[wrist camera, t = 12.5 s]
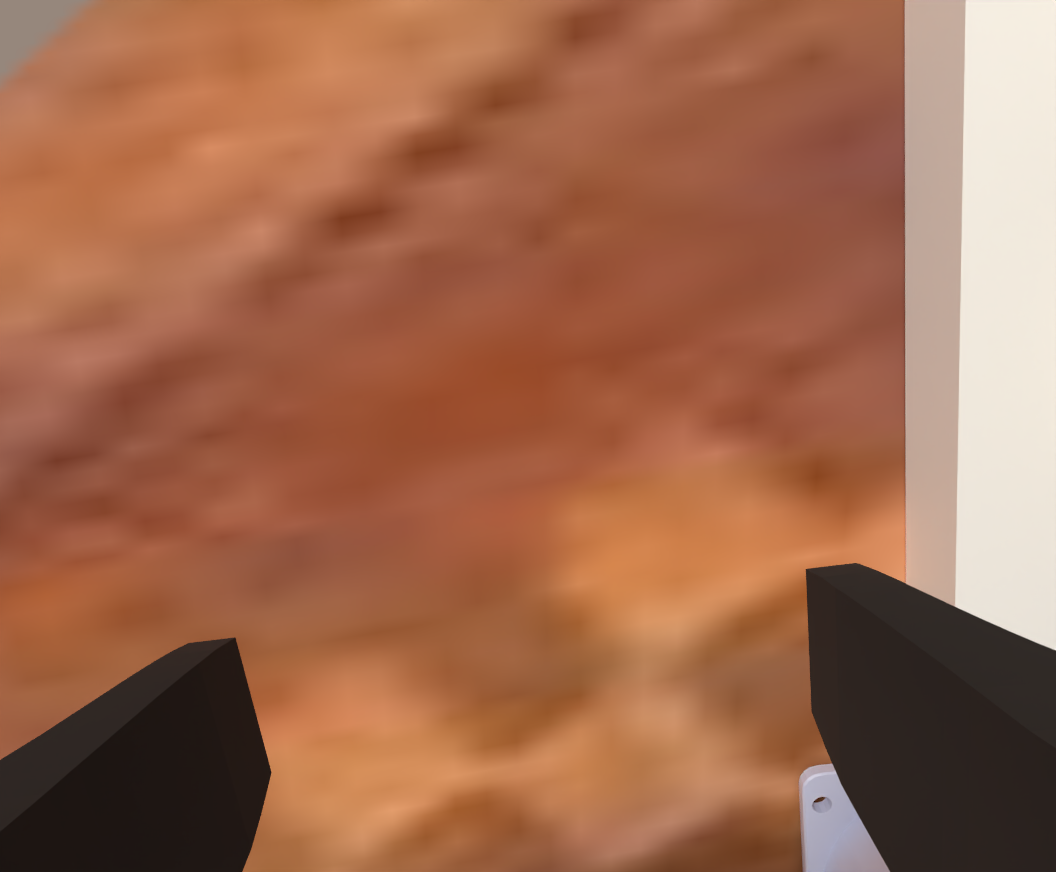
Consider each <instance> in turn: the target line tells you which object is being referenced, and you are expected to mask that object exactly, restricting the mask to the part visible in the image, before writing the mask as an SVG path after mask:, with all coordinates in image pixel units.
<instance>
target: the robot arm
mask: <svg viewBox="0 0 1056 872" xmlns="http://www.w3.org/2000/svg"><path fill="white" fill-rule="evenodd" d="M806 582H807V607H808V632H809V656H810V681H811V706H812V714H813V716H814V719H815V721H816V724H817V726H818V729H819V731H820V734H821V737H822V739H823V742H824V744H825V747H826V749H827V752H828V754H829V757H830V759H831V761H832V764H823V765H816V766H812V767H809V768H808V769H806V770H805V771H803V773H802V774H801V776H800V778H799V800H800V821H801V843H802V864H803V872H1056V650H1054V649H1051V648H1049V647H1046V646H1044V645H1041V644H1038V643H1036V642H1034V641H1031V640H1029V639H1027V638H1024V637H1022V636H1020V635H1017V634H1015V633H1013V632H1010V631H1008V630H1006V629H1003V628H1001V627H999V626H997V625H994V624H992V623H990V622H988V621H985V620H983V619H981V618H979V617H977V616H974V615H972V614H970V613H968V612H966V611H963V610H961V609H959V608H957V607H955V606H953V605H950V604H948V603H946V602H944V601H942V600H940V599H938V598H935V597H933V596H931V595H929V594H927V593H925V592H923V591H921V590H918V589H916V588H914V587H912V586H910V585H908V584H906V583H903V582H901V581H899V580H897V579H895V578H892V577H890V576H888V575H886V574H883V573H881V572H879V571H876V570H874V569H871V568H869V567H866V566H863V565H860V564H857V563H853V564H844V565H836V566H828V567H819V568H811V569H806ZM270 776H271V769H270V765H269V762H268V758H267V754H266V750H265V747H264V743H263V739H262V736H261V732H260V728H259V724H258V721H257V717H256V713H255V709H254V706H253V702H252V698H251V694H250V691H249V687H248V683H247V679H246V676H245V672H244V668H243V664H242V661H241V657H240V653H239V649H238V646H237V642H236V638H228V639H220V640H211V641H203V642H195V643H188V644H186V645H184V646H182V647H180V648H178V649H176V650H174V651H172V652H170V653H168V654H167V655H165V656H163V657H161V658H160V659H158V660H156V661H155V662H153V663H151V664H150V665H148V666H146V667H145V668H143V669H142V670H140V671H138V672H137V673H135V674H134V675H132V676H131V677H129V678H127V679H126V680H124V681H123V682H121V683H120V684H118V685H117V686H115V687H114V688H112V689H111V690H109V691H107V692H106V693H104V694H103V695H101V696H100V697H98V698H97V699H95V700H94V701H92V702H91V703H89V704H88V705H86V706H84V707H83V708H81V709H80V710H78V711H77V712H75V713H74V714H72V715H71V716H69V717H68V718H66V719H65V720H63V721H62V722H60V723H58V724H57V725H55V726H54V727H52V728H51V729H49V730H48V731H46V732H45V733H43V734H42V735H40V736H38V737H37V738H35V739H34V740H32V741H30V742H29V743H27V744H25V745H24V746H22V747H21V748H19V749H17V750H16V751H14V752H12V753H11V754H9V755H8V756H6V757H4V758H3V759H1V760H0V872H242V871H243V868H244V866H245V863H246V861H247V858H248V856H249V853H250V851H251V848H252V844H253V841H254V837H255V834H256V830H257V827H258V823H259V820H260V816H261V813H262V809H263V805H264V801H265V797H266V792H267V788H268V784H269V780H270ZM820 797H826V798H825V799H824V800H823V801H821V802H818V803H816V802H814V801H815V800H816V799H817V798H820Z"/></svg>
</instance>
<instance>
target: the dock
mask: <svg viewBox="0 0 1056 872" xmlns="http://www.w3.org/2000/svg"><path fill="white" fill-rule="evenodd" d="M905 429H906V584H908V585H910V586H912V587H914V588H916V589H918V590H921V591H923V592H925V593H927V594H929V595H931V596H933V597H935V598H938V599H940V600H942V601H944V602H946V603H948V604H950V605H953V606H955V607H957V608H959V609H961V610H963V611H966V612H968V613H970V614H972V615H974V616H977V617H979V618H981V619H983V620H985V621H988V622H990V623H992V624H994V625H997V626H999V627H1001V628H1003V629H1006V630H1008V631H1010V632H1013V633H1015V634H1017V635H1020V636H1022V637H1024V638H1027V639H1029V640H1031V641H1034V642H1036V643H1038V644H1041V645H1044V646H1046V647H1049V648H1051V649H1054V650H1056V0H905Z"/></svg>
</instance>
